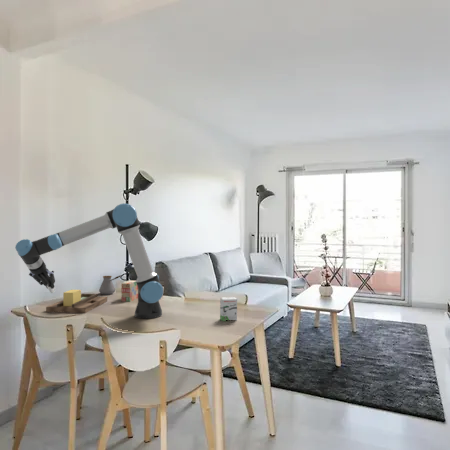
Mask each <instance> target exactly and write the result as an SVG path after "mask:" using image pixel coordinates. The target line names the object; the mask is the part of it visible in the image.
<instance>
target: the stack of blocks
mask: <svg viewBox="0 0 450 450" xmlns="http://www.w3.org/2000/svg"><path fill="white" fill-rule="evenodd" d="M120 292H121V302H129V303H130V302H132V301H134V299H135V300H136V299H138V286H137V283H136V280H130V279H129V280H126V281H124V282H122V283H121V291H120Z"/></svg>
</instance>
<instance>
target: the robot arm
mask: <svg viewBox="0 0 450 450" xmlns="http://www.w3.org/2000/svg"><path fill="white" fill-rule="evenodd" d="M140 226H141V225H140V221H139V218H138V214H137V210H136V209H135V207H134V206H133V205H131V204H130V203H120V204H117V205H116V206H115V207H114V208H112V209H111V210H109V211H106V212H105V214H104V215H101V216H99V217H96V218H92V219H90V220H89V221H84V222H83V223H80V224H77V225H74V226H71V227H69V228H67V229H65V230H61V231H59V232H56V233H53V234H50V235H48V236H44V237H42V238H39V239H36V240H32V241H31V240H30V239H28V238H25V239H24V238H23V239H21V240H19V241H18V242H17V243H16V244H15V251H16V252H17V255H18V256H19V257H20V259H21V260H22V262H24V264H25V266H26V267H27V268H28V270H29V271H30V272H28V273H29V274H28V276H30V277H31V278H33V279H34V280H35V281H36V282H37V283H38V284H39V285H40V286H45V288H46V289H48V291H49V293H50V294H54V293H55V291H56V287H55V285H54V284H55V283H56V278H55V275H54V273H55V271H54V270H52V271H50V270H49V269H48V268H47V265H46V263H45V262H44V260H43V259H42V257H41V256H42V255H45V254H47V253H48V254H49V253H50V252H53V251H56V250H58V249H61V248H62V247H64V246H66V245H69V244H72V243H74V242H77V241H80V240H82V239H84V238H88V237H90V236H92V235H95V234H97V233H98V234H99V233H100V232H103V231H106V230H108V229H113V230H114V229H116V230H117V233H119V234H120V235H122V237H123V240H124V241H123V242H124V243H125V245H126V249H127V251H128V255H129V257H130V261H131V263H132V266H133V268H134V271H135V273H136V276H137V278H136V280H135V281H136V283H137V286H138V298H137V304H136V307H135V310H134V317H135V318H137V319H155V318H159V317H161V316H162V315H163V310H162V307H161V305H160V300H161V299H162V297H163V295H164V287H163V285H162V284H161V281H160V277H159V274H158V273H156V272H155V271H154V270H153V268H152V265H151V261H150V259H149V255H148V253H147V249H146V247H145V245H144V242H143V239H142V236H141V233H140V230H139V228H140Z"/></svg>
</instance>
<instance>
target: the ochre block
mask: <svg viewBox="0 0 450 450" xmlns="http://www.w3.org/2000/svg"><path fill="white" fill-rule="evenodd" d="M81 294H82V289H70V290H66V291H64V292H63V294H62V295H63V297H62V298H63V299H62V300H63V306H72V304H74V303H76V302H78V301H81Z"/></svg>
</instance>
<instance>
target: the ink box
mask: <svg viewBox="0 0 450 450" xmlns="http://www.w3.org/2000/svg"><path fill="white" fill-rule="evenodd" d="M219 306H220V309H219V319H220V321H222V322H227V321H226V320H235V321H238V298H237V297H234V296H229V297H227V296H226V297H223V296H222V297H220V305H219Z"/></svg>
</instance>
